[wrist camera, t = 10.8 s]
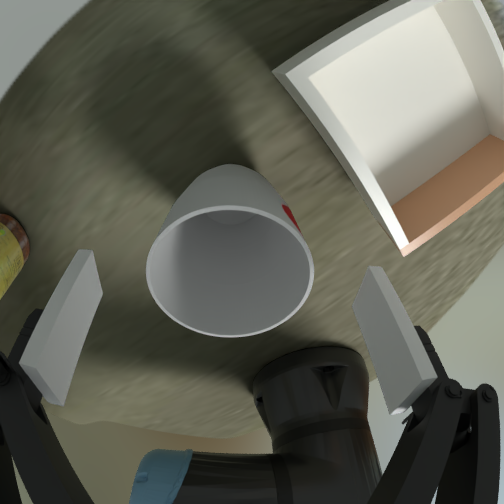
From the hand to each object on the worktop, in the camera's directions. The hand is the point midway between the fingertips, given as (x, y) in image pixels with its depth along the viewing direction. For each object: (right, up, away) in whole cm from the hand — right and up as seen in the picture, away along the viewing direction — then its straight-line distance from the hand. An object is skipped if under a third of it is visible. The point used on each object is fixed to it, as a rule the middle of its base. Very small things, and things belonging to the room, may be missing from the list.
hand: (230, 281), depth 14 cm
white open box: (+11, +13, +5) cm, 17 cm away
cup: (-1, +6, +9) cm, 11 cm away
